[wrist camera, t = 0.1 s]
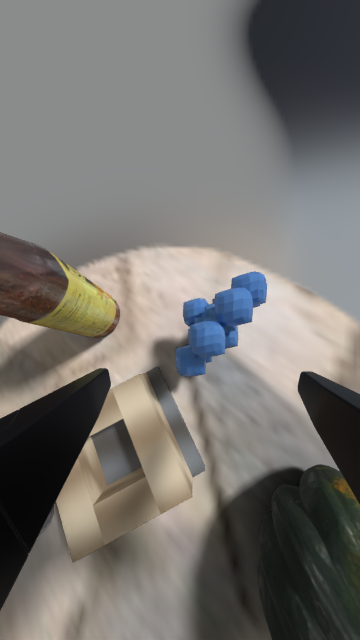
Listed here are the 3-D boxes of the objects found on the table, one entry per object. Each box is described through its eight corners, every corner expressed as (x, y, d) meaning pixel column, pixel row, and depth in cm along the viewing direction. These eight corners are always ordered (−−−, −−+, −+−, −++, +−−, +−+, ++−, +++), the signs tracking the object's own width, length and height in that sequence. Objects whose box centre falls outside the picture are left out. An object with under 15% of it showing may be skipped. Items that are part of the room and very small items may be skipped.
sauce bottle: (125, 296, 26) (-71, 114, 7) (118, 340, 25) (-148, 263, 6) (82, 294, 27) (-205, 122, 8) (72, 336, 26) (-302, 257, 6)
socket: (204, 465, 21) (206, 488, 17) (84, 531, 20) (57, 571, 17) (158, 366, 24) (151, 367, 20) (52, 423, 23) (23, 435, 19)
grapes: (214, 284, 26) (229, 219, 14) (255, 315, 24) (311, 270, 12) (157, 349, 24) (121, 337, 13) (198, 386, 23) (199, 410, 11)
